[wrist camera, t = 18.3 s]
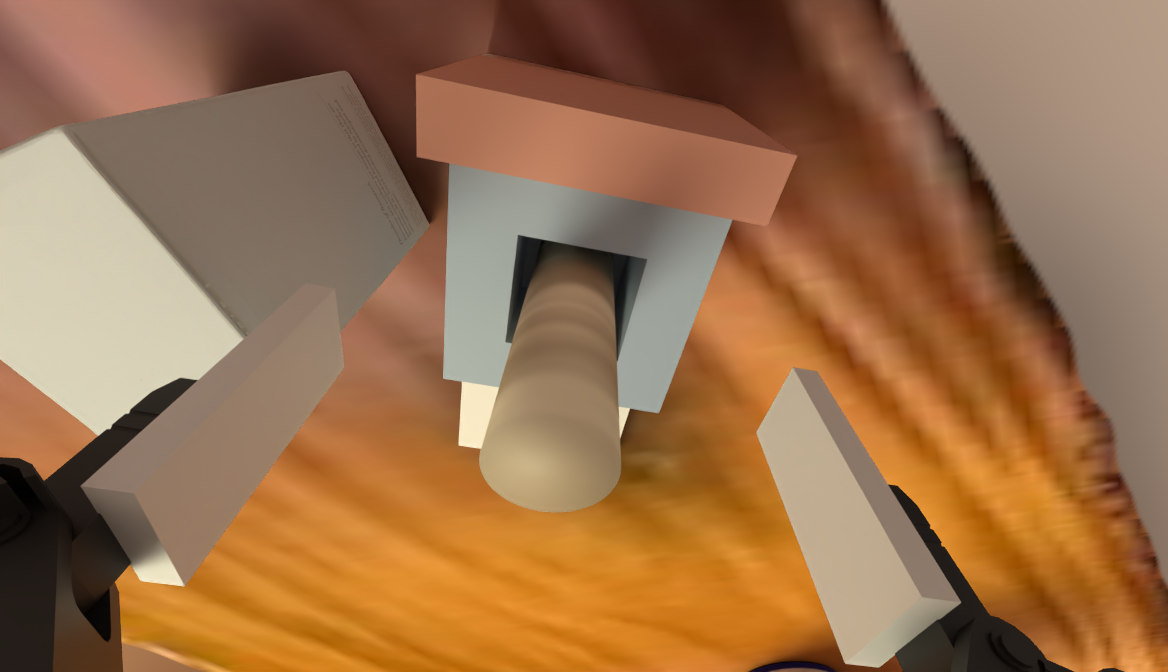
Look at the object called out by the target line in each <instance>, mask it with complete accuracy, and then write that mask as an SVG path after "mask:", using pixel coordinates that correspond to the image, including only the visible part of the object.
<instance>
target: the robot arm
mask: <svg viewBox="0 0 1168 672" xmlns="http://www.w3.org/2000/svg"><path fill="white" fill-rule="evenodd" d="M343 369H344V358H343V350H342V342H341V334H340V326H339V317H338V309H337V301H336V293H335V288H331V287H325V286H319V285H313V284H307V283H305V284H304V285H303V286H302V287H301V288H300V289H299V290H298V291H297V292H295V293H294V294H293V295H292V296H291V297H290V298H289V299H288V300H287V301H285V302H284V303H283V304H282V305H281V306H280V307H279V308H278V309H277V310H275V311H274V312H273V313H272V314H271V315H270V316H269V317H268V318H267V319H265V320H264V321H263V322H262V323H261V324H260V325H259V326H258V327H257V328H255V329H254V330H253V331H252V332H251V333H250V334H249V335H248V336H247V337H245V338H244V339H243V340H242V341H241V342H240V343H239V344H238V345H237V346H235V347H234V348H233V349H232V350H231V351H230V352H229V353H228V354H227V355H225V356H224V357H223V358H222V359H221V360H220V361H219V362H218V363H217V364H215V365H214V366H213V367H212V368H211V369H210V370H209V371H208V372H207V373H205V374H204V375H203V376H202V377H201V378H200V379H199V380H193V379H187V378H178V379H176V380H174V381H172V382H170V383H168V384H166V385H164V386H162V387H160V388H158V389H156V390H154V391H152V392H151V393H149V394H148V395H147V396H146V397H145V398H143V399H142V400H141V401H140V402H139V403H137V404H136V405H135V406H134V407H133V408H131V409H130V412H129V414H126V413H125V414H124V415H123V416H122V417H121V418H119V419H118V420H117V421H116V422H115V423H113V424H112V427H111V429H106V430H105V431H104V432H103V433H101V434H100V435H99V436H98V437H97V438H95V439H94V440H93V441H92V442H91V443H89V444H88V445H87V446H86V447H85V448H83V449H82V450H81V451H80V452H79V453H77V454H76V455H75V456H74V457H73V458H71V459H70V460H69V461H68V462H67V463H65V464H64V465H63V466H62V467H60V468H59V469H58V470H57V471H56V472H54V473H53V474H52V475H51V476H50V477H48V478H47V479H46V480H45V481H43V479H42V478H41V476H40V475H39V473H38V472H37V471H36V469H35V468H34V466H33V465H32V464H30V463H28V462H26V461H24V460H22V459H20V458H2V457H0V672H123V664H122V644H121V624H120V604H119V591H118V589H117V587H116V584H115V581H116V580H117V579H118V578H119V576H120V575H121V574H122V573H123V572H124V571H125V569H126V568H127V567H128V566H129V565H131V566H132V568H133V569H134V571H135V572H136V574H137V576H138V577H139V579H140V580H141V581H145V582H153V583H162V584H170V585H179V586H185V585H186V584H187V582H188V581H189V580H190V578H191V577H192V576H193V574H194V573H195V572H196V570H197V569H198V567H199V566H200V565H201V563H202V562H203V561H204V559H205V558H206V556H207V555H208V554H209V552H210V551H211V550H212V548H213V547H214V545H215V544H216V543H217V541H218V540H219V539H220V537H221V536H222V535H223V533H224V532H225V530H226V529H227V528H228V526H229V525H230V524H231V522H232V521H233V519H234V518H235V517H236V515H237V514H238V513H239V511H240V510H241V508H242V507H243V506H244V504H245V503H246V502H247V500H248V499H249V498H250V496H251V495H252V493H253V492H254V491H255V489H256V488H257V487H258V485H259V484H260V482H261V481H262V480H263V478H264V477H265V476H266V474H267V473H268V471H269V470H270V469H271V467H272V466H273V465H274V463H275V462H276V461H277V459H278V458H279V456H280V455H281V454H282V452H283V451H284V450H285V448H286V447H287V445H288V444H289V443H290V441H291V440H292V439H293V437H294V436H295V434H296V433H297V432H298V430H299V429H300V428H301V426H302V425H303V424H304V422H305V421H306V419H307V418H308V417H309V415H310V414H311V413H312V411H313V410H314V408H315V407H316V406H317V404H318V403H319V402H320V400H321V399H322V397H323V396H324V395H325V393H326V392H327V391H328V389H329V388H330V387H331V385H332V384H333V382H334V381H335V380H336V378H337V377H338V376H339V374H340V373H341V371H342V370H343ZM756 433H757V436H758V439H759V441H760V444H761V446H762V449H763V452H764V454H765V457H766V459H767V462H768V465H769V467H770V470H771V472H772V475H773V478H774V480H775V483H776V485H777V488H778V491H779V493H780V496H781V498H782V501H783V504H784V506H785V509H786V511H787V514H788V517H789V519H790V522H791V524H792V527H793V530H794V532H795V535H796V538H797V540H798V543H799V545H800V548H801V551H802V553H803V556H804V558H805V561H806V564H807V566H808V569H809V571H810V574H811V577H812V579H813V582H814V584H815V587H816V590H817V592H818V595H819V597H820V600H821V603H822V605H823V608H824V610H825V613H826V616H827V618H828V621H829V623H830V626H831V629H832V631H833V634H834V637H835V639H836V642H837V644H838V647H839V650H840V652H841V655H842V657H843V660H844V663H845V664H852V665H860V666H869V667H877V668H879V667H880V666H882V665H883V664H884V663H885V662H887V661H888V660H889V659H890V658H892V657H893V656H894V655H896V657H897V659H898V661H899V663H900V665H901V667H902V669H903V672H1074V671H1071V670H1069V669H1067V668H1065V667H1062V666H1060V665H1058V664H1056V663H1053V662H1051V661H1049V660H1047V659H1046V658H1045V656H1044V654H1043V653H1042V652H1041V651H1040V650H1039V649H1038V648H1037V646H1036V645H1035V644H1034V643H1033V642H1032V641H1031V640H1030V639H1029V638H1028V637H1027V636H1026V635H1024V634H1023V633H1022V632H1021V631H1019V630H1018V629H1017V628H1016V627H1014V626H1013V625H1011V624H1009V623H1007V622H1005V621H1004V620H1002V619H1000V618H998V617H994V616H990V615H989V613H988V612H987V611H986V609H985V608H984V606H983V605H982V603H981V602H980V600H979V599H978V597H977V596H976V594H975V593H974V591H973V590H972V588H971V587H970V585H969V583H968V582H967V580H966V579H965V577H964V576H963V574H962V573H961V571H960V570H959V568H958V567H957V565H956V564H955V562H954V561H953V559H952V558H951V556H950V555H949V553H948V552H947V550H946V549H945V547H942V546H941V543H942V542H941V541H940V539H939V538H938V536H937V535H936V533H935V532H934V530H932V529H930V524H929V523H928V521H927V520H926V518H925V517H924V515H923V514H922V512H921V511H920V509H919V507H918V506H917V505H916V504H915V503H914V502H913V501H912V500H911V499H910V498H909V497H908V496H907V495H906V494H905V493H904V492H903V491H902V490H901V489H900V488H899V487H898V486H895V485H888V484H887V482H886V481H885V479H884V478H883V476H882V474H881V473H880V471H879V470H878V468H877V466H876V465H875V463H874V462H873V460H872V458H871V457H870V455H869V454H868V452H867V450H866V449H865V447H864V446H863V444H862V442H861V441H860V439H859V438H858V436H857V434H856V433H855V431H854V430H853V428H852V426H851V425H850V423H849V422H848V420H847V418H846V417H845V415H844V414H843V412H842V410H841V409H840V407H839V406H838V404H837V402H836V401H835V399H834V398H833V396H832V394H831V393H830V391H829V390H828V388H827V386H826V385H825V383H824V382H823V380H822V378H821V377H820V375H819V374H818V372H817V371H811V370H805V369H800V368H794V367H793V368H792V370H791V371H790V373H789V375H788V377H787V379H786V380H785V382H784V384H783V386H782V388H781V389H780V391H779V393H778V395H777V396H776V398H775V400H774V402H773V404H772V405H771V407H770V409H769V411H768V413H767V414H766V416H765V418H764V420H763V422H762V423H761V425H760V427H759V429H758V431H757V432H756ZM1098 672H1124V671H1121V670H1118V669H1116V668H1106V669H1102V670H1100V671H1098Z"/></svg>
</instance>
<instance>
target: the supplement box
mask: <svg viewBox="0 0 1168 672" xmlns="http://www.w3.org/2000/svg"><path fill="white" fill-rule="evenodd" d="M429 227H430V225H429V223H428V221H427V219H426V217H425V215H424V213H423V211H422V209H421V207H420V205H419V203H418V201H417V199H416V198H415V196H414V194H413V192H412V190H411V188H410V186H409V184H408V182H407V180H406V178H405V176H404V174H403V172H402V171H401V169H400V167H399V165H398V163H397V161H396V159H395V158H394V156H393V154H392V152H391V150H390V148H389V146H388V144H387V142H386V140H385V138H384V136H383V135H382V133H381V131H380V129H379V127H378V125H377V123H376V121H375V119H374V117H373V116H372V114H371V112H370V110H369V108H368V107H367V105H366V103H365V100H364V98H363V97H362V95H361V93H360V91H359V89H358V88H357V86H356V84H355V82H354V81H353V79H352V77H351V76H350V74H349V73H348V72H347V71H337V72H332V73H327V74H322V75H317V76H311V77H306V78H301V79H297V80H292V81H286V82H281V83H276V84H271V85H266V86H261V87H256V88H252V89H247V90H242V91H237V92H232V93H228V94H223V95H218V96H213V97H208V98H203V99H198V100H193V101H188V102H183V103H178V104H173V105H167V106H162V107H157V108H152V109H147V110H142V111H137V112H132V113H127V114H122V115H117V116H112V117H107V118H101V119H97V120H92V121H87V122H81V123H74V124H68V125H61V126H58V127H55V128H52V129H49V130H47V131H44V132H42V133H39V134H37V135H34V136H32V137H29V138H27V139H25V140H23V141H21V142H18V143H16V144H14V145H11V146H9V147H7V148H5V149H3V150H1V151H0V360H2V361H3V362H4V363H6V364H7V365H8V366H10V367H11V368H12V369H13V370H15V371H16V372H17V373H19V374H20V375H21V376H22V377H24V378H25V379H26V380H28V381H29V382H30V383H32V384H33V385H34V386H35V387H37V388H38V389H39V390H41V391H42V392H43V393H44V394H46V395H47V396H48V397H50V398H51V399H52V400H54V401H55V402H56V403H57V404H59V405H60V406H61V407H63V408H64V409H65V410H67V411H68V412H69V413H71V414H72V415H73V416H74V417H76V418H77V419H78V420H80V421H81V422H82V423H83V424H85V425H86V426H87V427H88V428H89V429H91V430H92V431H93V432H94V433H95V434H96V435H98V436H99V435H100V434H101V433H103V432H104V431H105V430H106V429H111V427H112V424H113V423H115V422H116V421H117V420H118V419H119V418H121V417H122V416H123V415H124V414H125V413H126V414H129V412H130V409H131V408H133V407H134V406H135V405H136V404H137V403H139V402H140V401H141V400H142V399H143V398H145V397H146V396H147V395H148V394H149V393H151V392H152V391H154V390H156V389H158V388H160V387H162V386H164V385H166V384H168V383H170V382H172V381H174V380H176V379H178V378H187V379H193V380H199V379H200V378H201V377H202V376H203V375H204V374H205V373H207V372H208V371H209V370H210V369H211V368H212V367H213V366H214V365H215V364H217V363H218V362H219V361H220V360H221V359H222V358H223V357H224V356H225V355H227V354H228V353H229V352H230V351H231V350H232V349H233V348H234V347H235V346H237V345H238V344H239V343H240V342H241V341H242V340H243V339H244V338H245V337H247V336H248V335H249V334H250V333H251V332H252V331H253V330H254V329H255V328H257V327H258V326H259V325H260V324H261V323H262V322H263V321H264V320H265V319H267V318H268V317H269V316H270V315H271V314H272V313H273V312H274V311H275V310H277V309H278V308H279V307H280V306H281V305H282V304H283V303H284V302H285V301H287V300H288V299H289V298H290V297H291V296H292V295H293V294H294V293H295V292H297V291H298V290H299V289H300V288H301V287H302V286H303V285H304V284H305V283H307V284H313V285H319V286H325V287H331V288H335V293H336V301H337V309H338V317H339V326H340V332H341V331H342V330H343V328H344V327H345V326H346V325H347V324H348V323H349V321H350V320H351V319H352V318H353V317H354V315H355V314H356V313H357V312H358V311H359V310H360V308H361V307H362V306H363V305H364V303H365V302H366V301H367V300H368V299H369V298H370V296H371V295H372V294H373V293H374V292H375V291H376V289H377V288H378V287H379V286H380V285H381V284H382V282H383V281H384V280H385V279H386V277H387V276H388V275H389V274H390V273H391V272H392V270H393V269H394V268H395V267H396V266H397V265H398V263H399V262H400V261H401V260H402V258H403V257H404V256H405V255H406V254H407V253H408V251H409V250H410V249H411V248H412V247H413V246H414V245H415V243H416V242H417V241H418V240H419V238H420V237H421V236H422V235H423V234H424V232H425V231H426V230H427V229H428V228H429Z"/></svg>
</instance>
